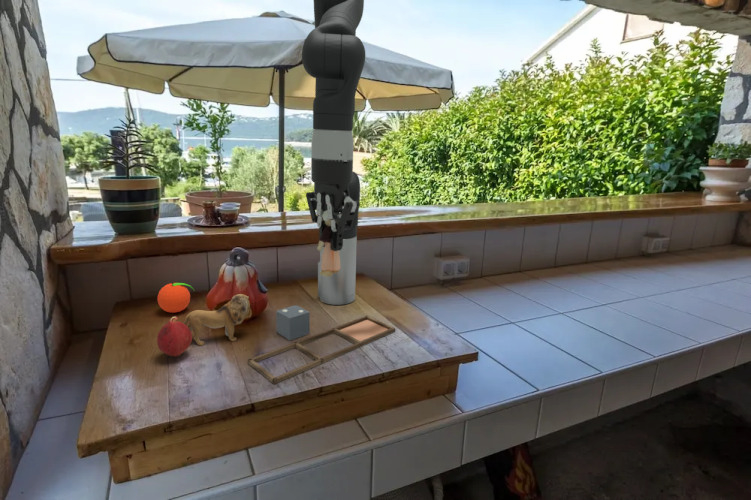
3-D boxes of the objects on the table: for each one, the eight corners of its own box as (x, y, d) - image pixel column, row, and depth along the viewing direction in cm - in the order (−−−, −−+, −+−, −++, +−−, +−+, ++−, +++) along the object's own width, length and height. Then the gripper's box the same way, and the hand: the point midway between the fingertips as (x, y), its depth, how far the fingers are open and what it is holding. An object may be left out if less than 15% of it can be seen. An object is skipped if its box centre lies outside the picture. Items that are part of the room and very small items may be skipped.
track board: (248, 363, 76) (247, 359, 75) (366, 318, 97) (367, 315, 97) (274, 384, 70) (274, 380, 69) (395, 331, 91) (395, 328, 91)
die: (276, 332, 88) (276, 310, 87) (296, 325, 92) (295, 304, 90) (289, 340, 85) (289, 317, 84) (309, 333, 88) (309, 311, 87)
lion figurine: (248, 327, 90) (246, 289, 88) (254, 337, 86) (252, 297, 83) (174, 341, 83) (170, 299, 81) (176, 353, 78) (172, 309, 76)
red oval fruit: (170, 368, 73) (166, 327, 71) (152, 358, 76) (148, 318, 74) (199, 354, 78) (196, 315, 76) (181, 346, 81) (177, 308, 79)
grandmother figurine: (333, 279, 76) (334, 212, 73) (314, 277, 77) (314, 210, 74) (346, 267, 83) (347, 205, 80) (328, 265, 84) (329, 204, 81)
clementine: (194, 303, 102) (192, 276, 100) (197, 314, 96) (195, 285, 94) (158, 308, 98) (155, 280, 96) (159, 319, 92) (156, 289, 90)
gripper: (293, 153, 76) (293, 242, 81) (340, 159, 67) (338, 260, 72) (325, 153, 81) (324, 237, 86) (374, 159, 72) (369, 253, 77)
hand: (330, 247), depth 79 cm, fingers closed on grandmother figurine, 3 cm apart
